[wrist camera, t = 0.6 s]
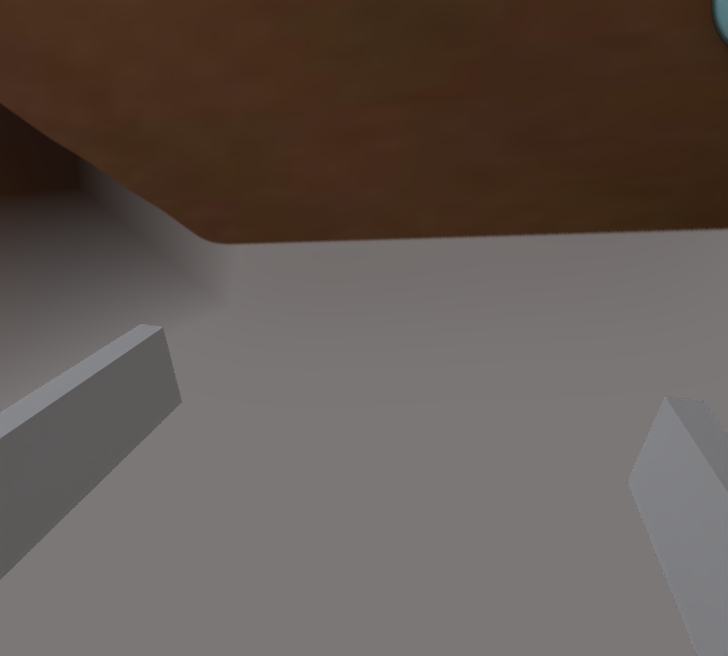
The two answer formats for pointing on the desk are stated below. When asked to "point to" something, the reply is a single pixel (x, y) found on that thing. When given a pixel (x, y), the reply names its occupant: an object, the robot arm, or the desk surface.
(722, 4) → the bobbin
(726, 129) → the desk surface
